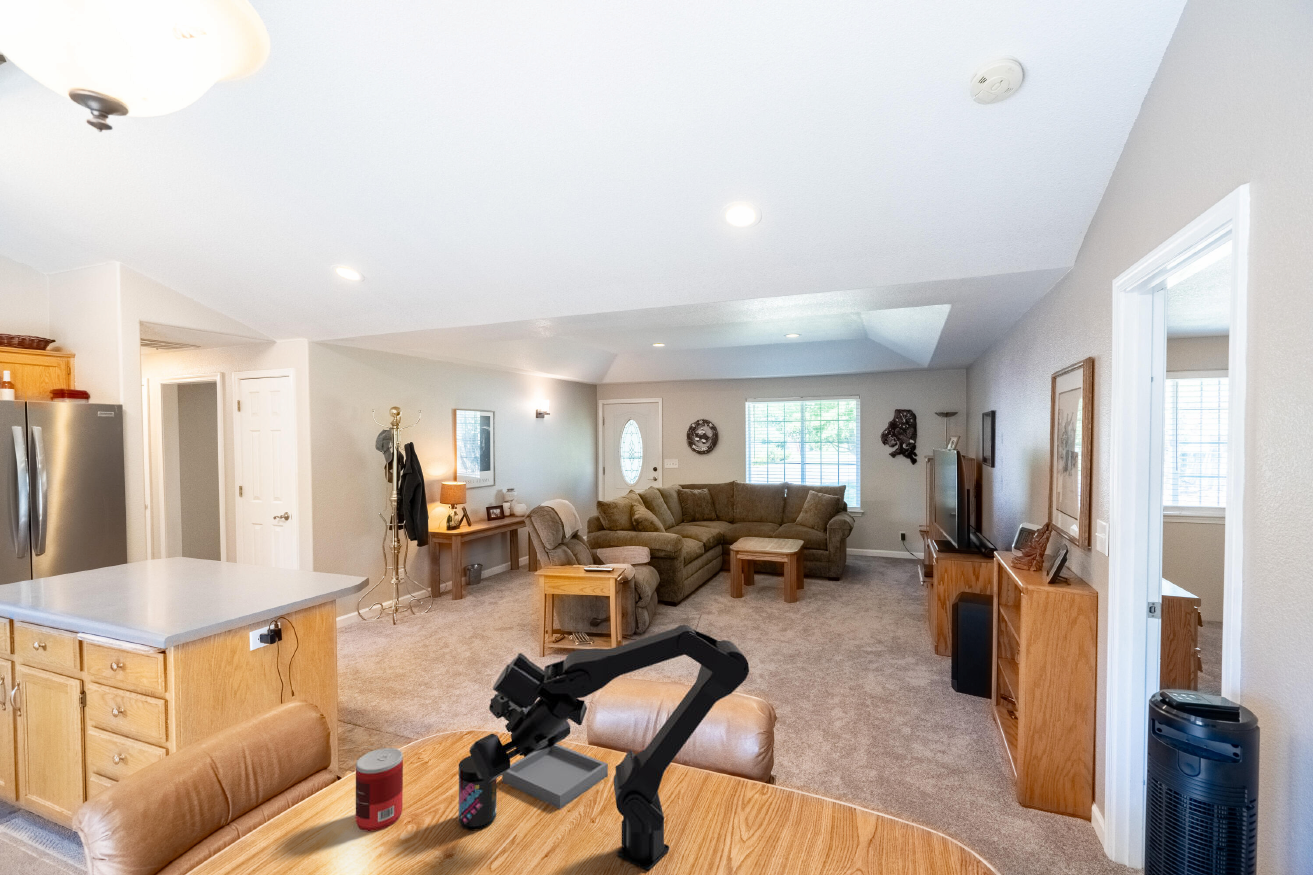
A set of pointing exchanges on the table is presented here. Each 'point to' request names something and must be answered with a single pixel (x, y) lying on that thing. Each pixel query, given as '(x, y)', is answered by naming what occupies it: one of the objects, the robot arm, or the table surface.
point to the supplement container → (475, 797)
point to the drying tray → (555, 774)
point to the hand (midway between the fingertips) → (499, 763)
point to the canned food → (379, 789)
